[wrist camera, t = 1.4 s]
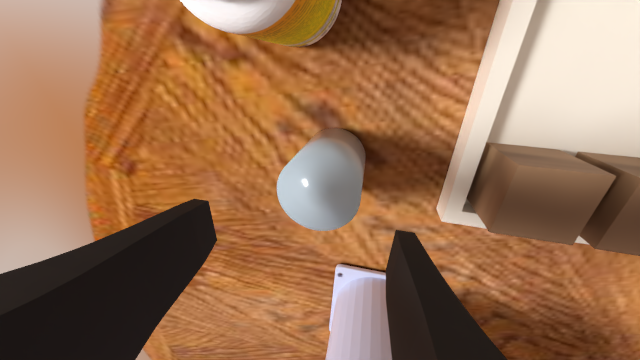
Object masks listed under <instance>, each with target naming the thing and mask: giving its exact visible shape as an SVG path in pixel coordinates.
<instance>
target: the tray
mask: <svg viewBox="0 0 640 360" xmlns="http://www.w3.org/2000/svg"><path fill="white" fill-rule="evenodd" d="M486 142H490V143H500V144H510V145H520V146H529V147H539V148H549V149H559V150H561V151H563V152H565V153H567V154H570V155H572V156H574V157H575V156H576V154H577V152H578V151H579V152H588V153H598V154H608V155H618V156H628V157H638V158H640V0H500V1H499V4H498V7H497V11H496V14H495V17H494V21H493V24H492V27H491V30H490V34H489V37H488V40H487V44H486V47H485V50H484V54H483V57H482V60H481V63H480V67H479V70H478V73H477V77H476V80H475V83H474V87H473V90H472V93H471V96H470V100H469V103H468V106H467V110H466V113H465V116H464V119H463V123H462V126H461V129H460V133H459V136H458V139H457V143H456V146H455V149H454V152H453V156H452V159H451V162H450V166H449V169H448V172H447V175H446V179H445V182H444V185H443V189H442V192H441V195H440V199H439V202H438V205H437V208H436V209H437V211H438V214H439V216H440V219H441V221H442V222H448V223H454V224H461V225H467V226H474V227H480V228H486V226H485V225H484V223H483V222H482V220H481V219H480V217H479V216H478V214H477V213H476V211H475V210H474V208H473V207H472V205H471V204H470V203H469V201H468V200H467V195H468V192H469V189H470V187H471V184H472V181H473V178H474V175H475V173H476V170H477V167H478V164H479V161H480V159H481V156H482V153H483V150H484V147H485V145H486ZM575 242H576V243H583V244H589V243H587V242H586V241H585V240H584V239H583V238H581V237H580V236H578V238H577V239H576V241H575ZM589 245H590V244H589Z"/></svg>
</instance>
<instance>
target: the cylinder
mask: <svg viewBox="0 0 640 360" xmlns="http://www.w3.org/2000/svg"><path fill="white" fill-rule="evenodd" d="M365 160H366V156H365V150H364V147H363V145H362V143H361V142H360V140H359V139H358V138H357V137H356V136H355V135H354V134H352V133H351V132H349V131H347V130H344V129H340V128H328V129H324V130H321V131H320V132H318V133H316V134H315V135H314V136H313V137H312V138H311V139H310V140H309V141H308V142H307V143H306V145H305V146H304V147H303V148H302V149H301V150H300V151H299V152H298V153H297V154H296V155H295V156H294V158H293V159H292V160H291V161H290V162H289V163H288V164H287V165H286V166H285V167H284V169H283V170H282V172H281V173H280V175H279V178H278V182H277V195H278V199H279V202H280V204H281V206H282V208H283V209H284V211H285V212H286V213H287V215H288V216H289V217H290V218H291V219H293V220H294V221H295V222H297V223H298V224H300V225H302V226H304V227H306V228H309V229H313V230H319V231H328V230H334V229H337V228H340V227H342V226H344V225H346V224H347V223H348V222H349V221H351V220H352V219H353V217H354V216H355V215H356V213H357V211H358V208H359V205H360V200H361V192H362V184H363V177H364V169H365Z"/></svg>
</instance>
